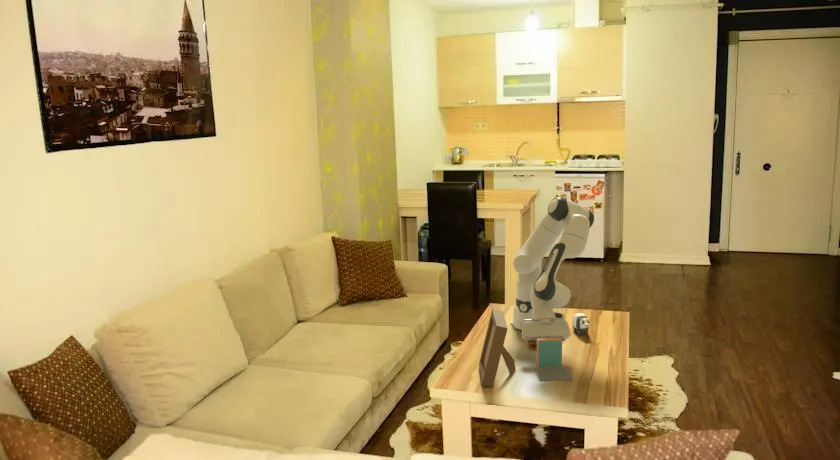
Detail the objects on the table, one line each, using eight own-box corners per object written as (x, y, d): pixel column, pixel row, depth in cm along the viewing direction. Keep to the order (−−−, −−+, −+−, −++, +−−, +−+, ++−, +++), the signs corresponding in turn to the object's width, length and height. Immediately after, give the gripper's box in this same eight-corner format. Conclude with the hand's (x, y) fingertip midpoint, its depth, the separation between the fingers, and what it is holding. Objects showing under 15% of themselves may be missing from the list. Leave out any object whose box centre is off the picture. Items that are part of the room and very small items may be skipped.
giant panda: (571, 329, 331) (571, 309, 329) (582, 328, 331) (583, 309, 330) (580, 339, 317) (581, 319, 315) (592, 338, 317) (593, 318, 315)
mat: (534, 369, 284) (534, 368, 284) (566, 368, 284) (566, 367, 284) (540, 380, 272) (540, 379, 272) (573, 379, 272) (573, 378, 272)
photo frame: (481, 387, 268) (481, 325, 263) (478, 366, 289) (478, 308, 284) (520, 387, 267) (520, 325, 262) (514, 366, 288) (514, 308, 284)
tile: (560, 364, 288) (560, 337, 285) (562, 367, 285) (562, 339, 283) (536, 365, 288) (536, 338, 285) (537, 368, 285) (537, 340, 283)
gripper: (520, 316, 294) (524, 346, 286) (568, 314, 294) (573, 344, 286) (518, 323, 299) (522, 352, 291) (565, 321, 299) (571, 350, 292)
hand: (548, 348), depth 289 cm, fingers closed
